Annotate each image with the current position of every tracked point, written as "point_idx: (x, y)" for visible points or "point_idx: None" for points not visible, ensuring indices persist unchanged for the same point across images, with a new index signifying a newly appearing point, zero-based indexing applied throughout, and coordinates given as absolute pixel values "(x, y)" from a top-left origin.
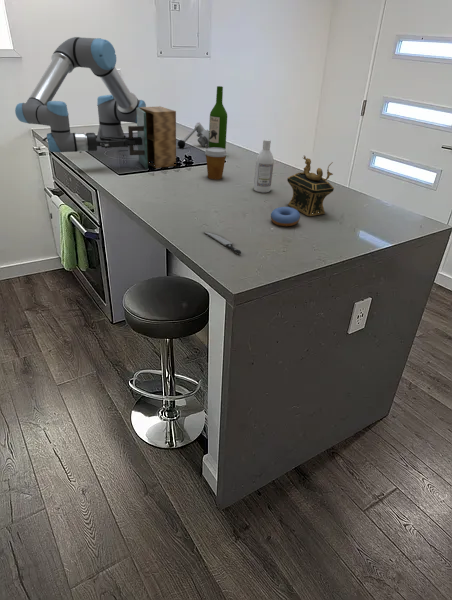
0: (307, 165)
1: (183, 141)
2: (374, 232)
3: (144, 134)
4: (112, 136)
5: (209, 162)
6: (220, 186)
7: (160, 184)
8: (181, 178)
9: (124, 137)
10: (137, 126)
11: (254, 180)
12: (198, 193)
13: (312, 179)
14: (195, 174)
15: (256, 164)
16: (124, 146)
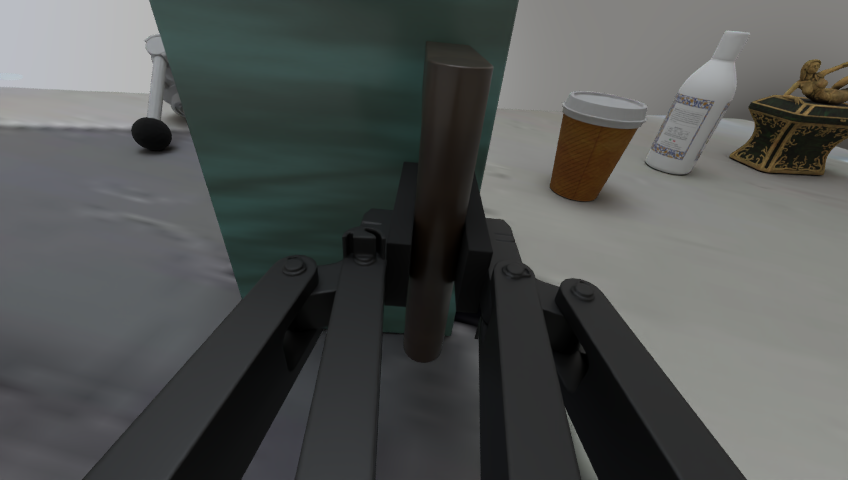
0: (824, 75)
1: (160, 121)
2: (837, 155)
3: (492, 123)
4: (168, 416)
5: (619, 150)
6: (669, 206)
7: (759, 351)
8: (608, 255)
9: (375, 257)
10: (469, 51)
11: (682, 151)
12: (800, 267)
13: (842, 101)
14: (540, 212)
15: (713, 108)
16: (583, 363)
